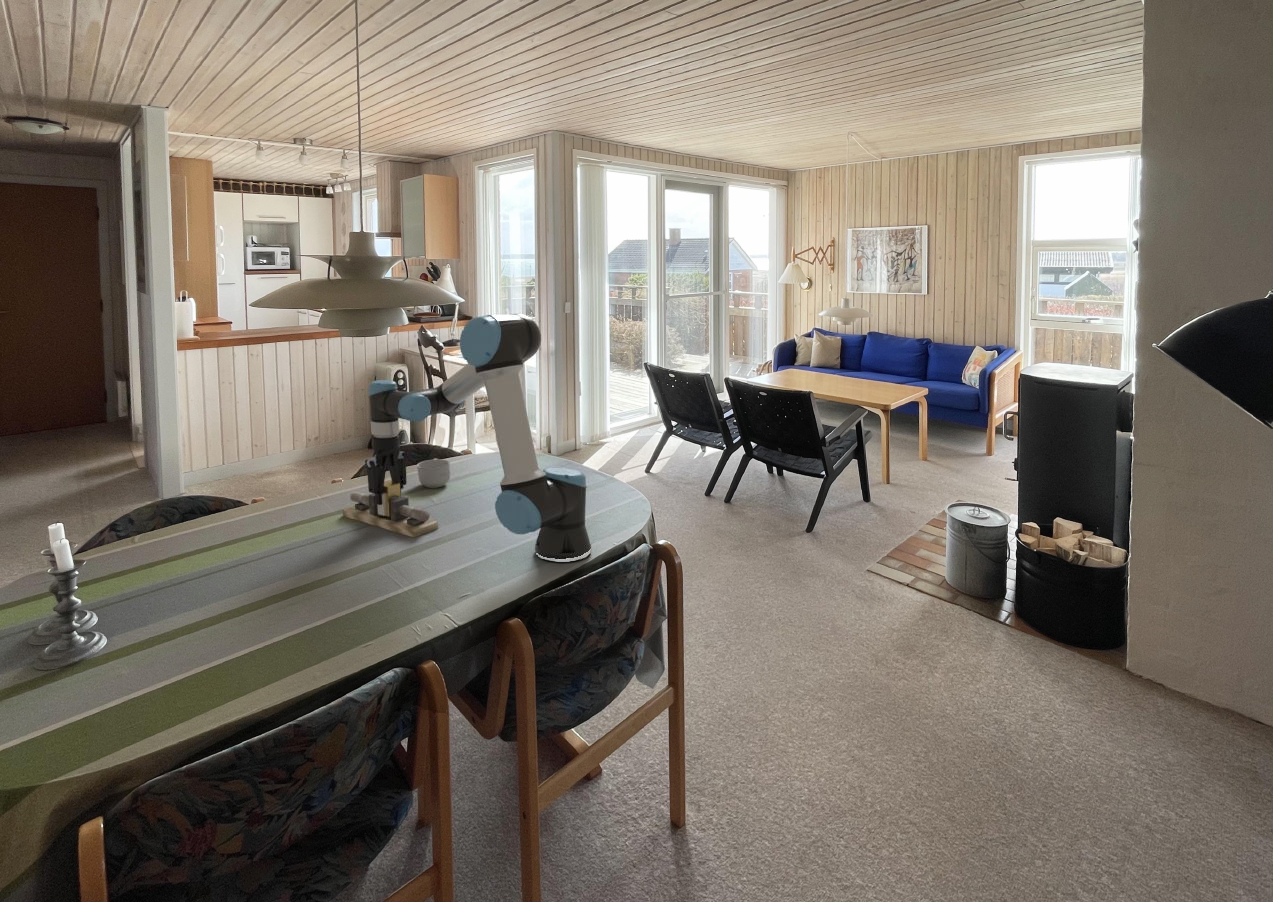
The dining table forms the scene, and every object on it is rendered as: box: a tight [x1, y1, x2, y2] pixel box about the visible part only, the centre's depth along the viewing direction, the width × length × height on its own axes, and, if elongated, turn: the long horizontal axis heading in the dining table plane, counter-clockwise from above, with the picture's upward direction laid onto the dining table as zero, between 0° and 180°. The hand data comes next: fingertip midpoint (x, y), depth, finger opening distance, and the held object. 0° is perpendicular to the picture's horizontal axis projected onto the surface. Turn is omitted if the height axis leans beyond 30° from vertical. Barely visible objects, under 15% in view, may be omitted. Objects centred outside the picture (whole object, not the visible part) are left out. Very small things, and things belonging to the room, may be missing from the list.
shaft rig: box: [342, 491, 439, 538], centre depth 220 cm, size 30×9×8 cm, turn 59°
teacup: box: [416, 458, 451, 489], centre depth 258 cm, size 14×11×8 cm
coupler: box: [378, 480, 402, 517], centre depth 219 cm, size 5×4×9 cm
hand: (389, 511), depth 221 cm, fingers closed on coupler, 4 cm apart
